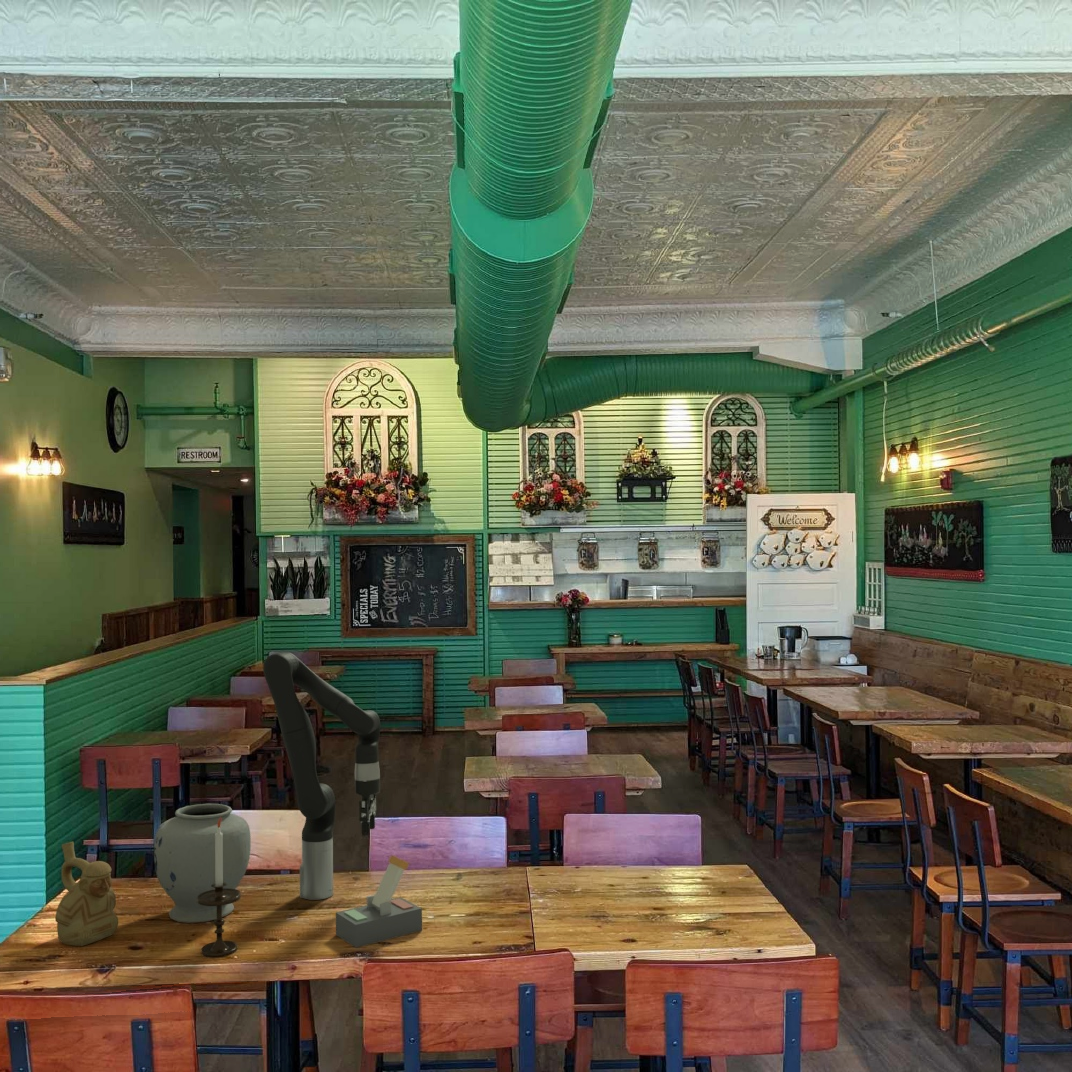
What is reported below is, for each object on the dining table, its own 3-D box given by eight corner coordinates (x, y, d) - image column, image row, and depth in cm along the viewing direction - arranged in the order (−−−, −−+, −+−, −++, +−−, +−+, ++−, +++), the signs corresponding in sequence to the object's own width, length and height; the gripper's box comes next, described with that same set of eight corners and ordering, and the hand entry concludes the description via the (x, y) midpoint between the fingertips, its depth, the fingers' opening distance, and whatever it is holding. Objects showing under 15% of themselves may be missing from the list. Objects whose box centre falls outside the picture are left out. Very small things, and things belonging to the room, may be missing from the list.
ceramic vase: (234, 891, 310) (233, 794, 310) (264, 915, 288) (263, 810, 289) (143, 909, 294) (143, 807, 295) (168, 936, 272) (168, 825, 273)
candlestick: (248, 949, 262) (248, 815, 263) (210, 962, 254) (210, 823, 255) (227, 939, 269) (226, 808, 270) (189, 951, 261) (189, 816, 262)
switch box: (355, 947, 262) (355, 913, 263) (335, 934, 272) (335, 901, 272) (422, 930, 274) (421, 897, 275) (400, 918, 284) (400, 886, 284)
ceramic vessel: (78, 955, 260) (78, 858, 261) (35, 941, 270) (35, 847, 271) (135, 934, 274) (135, 842, 275) (91, 921, 285) (91, 833, 286)
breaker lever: (380, 910, 270) (402, 860, 275) (369, 904, 275) (391, 854, 280) (386, 913, 271) (409, 863, 276) (375, 907, 276) (397, 857, 281)
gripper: (359, 774, 310) (360, 827, 309) (350, 781, 296) (351, 837, 295) (383, 773, 310) (385, 826, 309) (375, 781, 296) (376, 836, 294)
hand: (368, 831), depth 302 cm, fingers open, 8 cm apart
